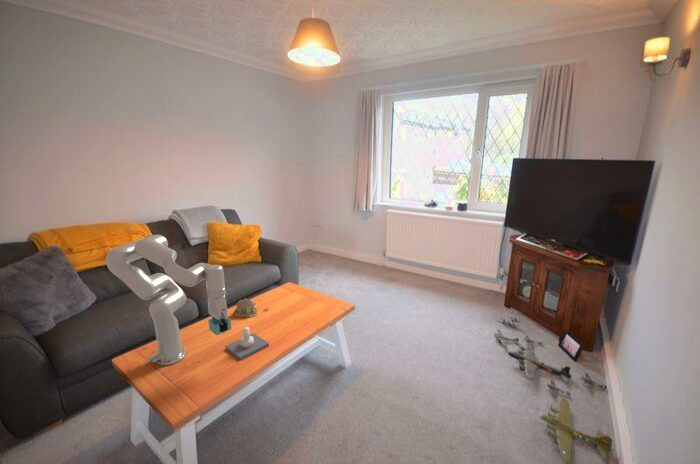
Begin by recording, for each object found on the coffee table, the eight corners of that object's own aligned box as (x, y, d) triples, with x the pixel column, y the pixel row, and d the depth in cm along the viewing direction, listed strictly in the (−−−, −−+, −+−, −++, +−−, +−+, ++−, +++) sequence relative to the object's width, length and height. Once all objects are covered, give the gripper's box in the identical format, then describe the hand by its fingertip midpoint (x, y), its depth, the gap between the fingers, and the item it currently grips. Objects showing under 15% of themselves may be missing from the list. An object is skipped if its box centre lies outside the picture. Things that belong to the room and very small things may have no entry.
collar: (216, 335, 140) (215, 325, 139) (209, 329, 145) (208, 319, 144) (231, 329, 145) (230, 319, 144) (224, 323, 150) (223, 314, 149)
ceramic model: (259, 309, 201) (258, 294, 198) (255, 317, 190) (254, 302, 188) (237, 309, 200) (235, 295, 197) (231, 318, 189) (230, 303, 187)
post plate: (240, 360, 150) (238, 340, 147) (225, 348, 159) (224, 330, 156) (268, 345, 162) (267, 327, 159) (254, 335, 171) (252, 318, 168)
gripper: (199, 289, 144) (203, 324, 148) (217, 300, 132) (221, 338, 137) (215, 284, 149) (219, 318, 153) (233, 295, 138) (237, 331, 142)
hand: (220, 327), depth 145 cm, fingers closed on collar, 7 cm apart
